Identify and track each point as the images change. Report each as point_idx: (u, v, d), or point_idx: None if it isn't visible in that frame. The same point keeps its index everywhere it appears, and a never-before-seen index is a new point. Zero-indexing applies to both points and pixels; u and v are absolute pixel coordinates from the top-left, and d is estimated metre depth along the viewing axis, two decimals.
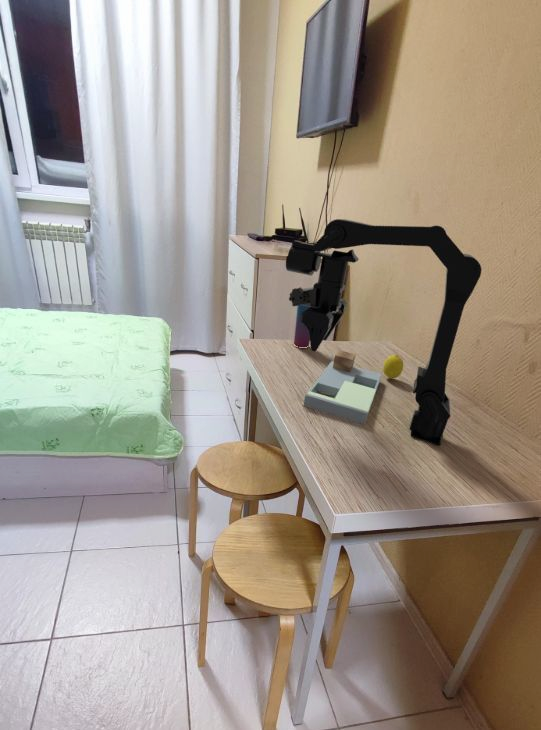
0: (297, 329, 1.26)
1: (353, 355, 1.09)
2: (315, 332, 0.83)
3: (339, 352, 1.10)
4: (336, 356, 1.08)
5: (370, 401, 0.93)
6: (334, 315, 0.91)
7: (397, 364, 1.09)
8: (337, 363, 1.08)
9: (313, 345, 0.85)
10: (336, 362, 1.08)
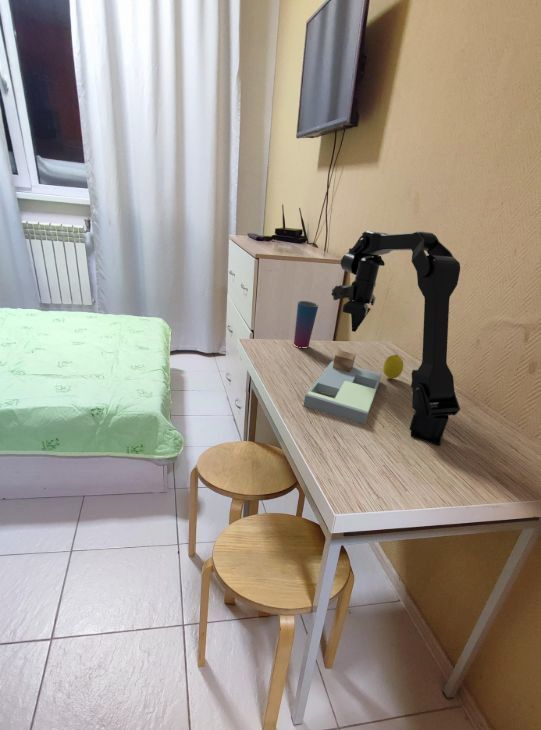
0: (297, 329, 1.26)
1: (353, 355, 1.09)
2: (355, 317, 1.09)
3: (339, 352, 1.10)
4: (336, 356, 1.08)
5: (370, 401, 0.93)
6: None
7: (397, 364, 1.09)
8: (337, 363, 1.08)
9: (353, 327, 1.11)
10: (336, 362, 1.08)
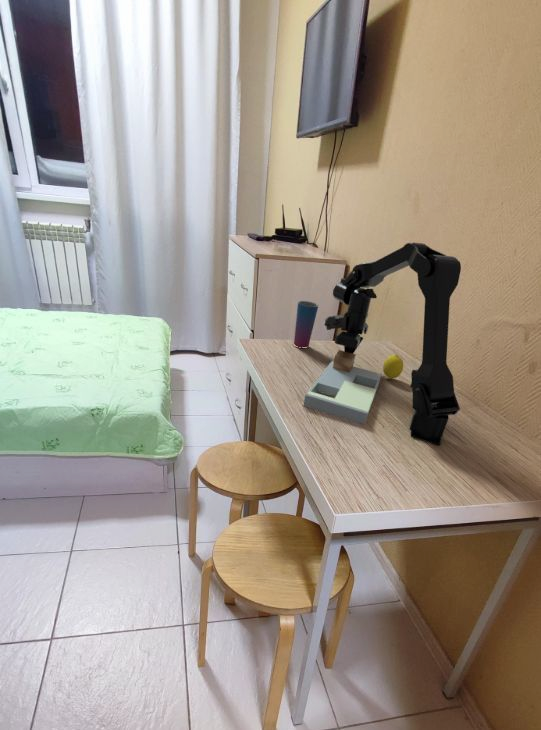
0: (297, 329, 1.26)
1: (353, 355, 1.09)
2: (348, 346, 1.11)
3: (339, 352, 1.10)
4: (336, 356, 1.08)
5: (370, 401, 0.93)
6: None
7: (397, 364, 1.09)
8: (337, 363, 1.08)
9: None
10: (336, 362, 1.08)
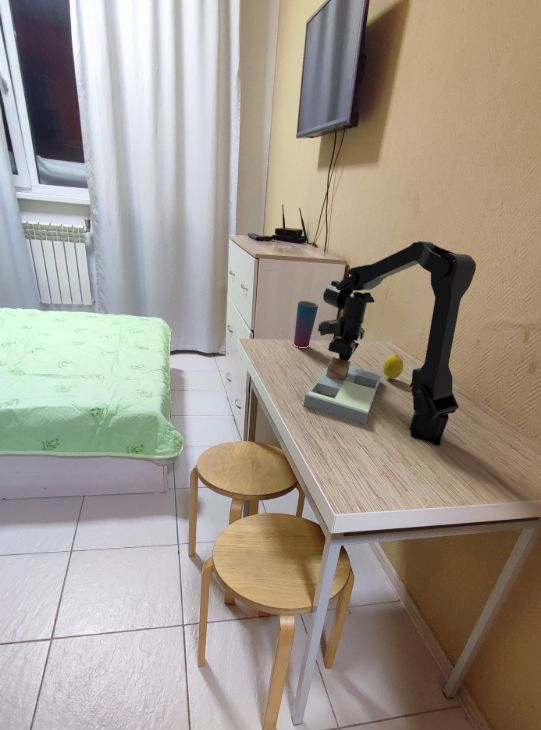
0: (297, 329, 1.26)
1: (348, 363, 1.04)
2: None
3: (333, 359, 1.04)
4: (330, 364, 1.02)
5: (370, 401, 0.93)
6: None
7: (397, 364, 1.09)
8: (331, 371, 1.02)
9: None
10: (329, 370, 1.02)
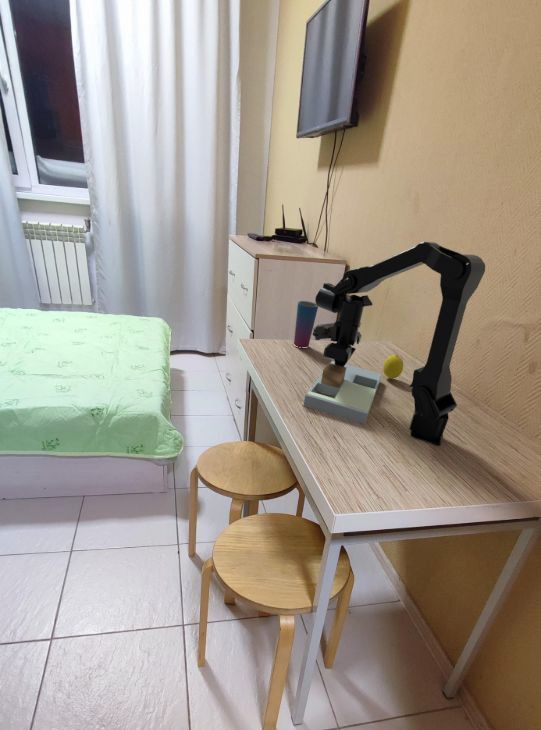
0: (297, 329, 1.26)
1: (343, 369, 0.99)
2: None
3: (328, 365, 1.00)
4: (324, 370, 0.98)
5: (370, 401, 0.93)
6: None
7: (397, 364, 1.09)
8: (326, 377, 0.98)
9: None
10: (324, 376, 0.98)
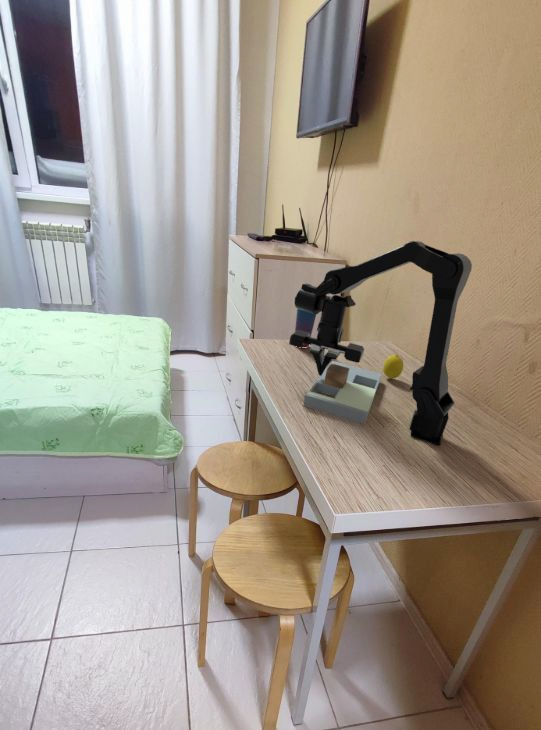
0: (297, 329, 1.26)
1: (347, 369, 0.99)
2: None
3: (331, 366, 1.00)
4: (328, 371, 0.98)
5: (370, 401, 0.93)
6: (326, 354, 0.97)
7: (397, 364, 1.09)
8: (329, 378, 0.98)
9: None
10: (327, 377, 0.98)
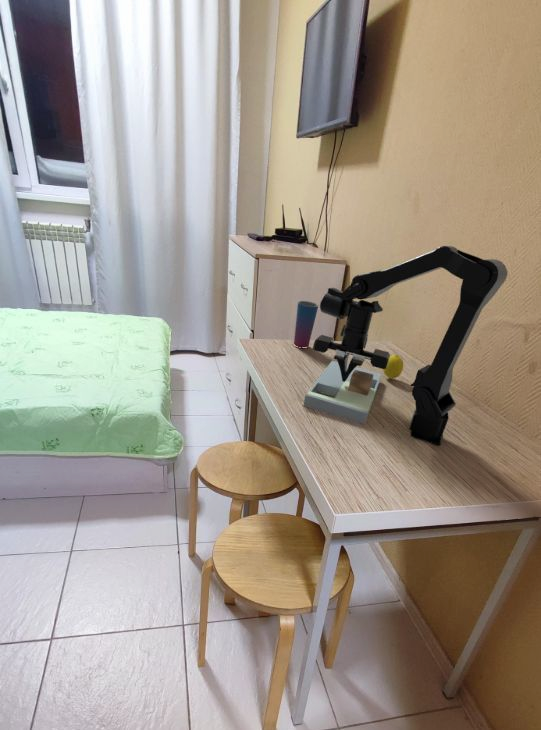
0: (297, 329, 1.26)
1: (371, 376, 0.97)
2: None
3: (355, 372, 0.98)
4: (352, 377, 0.96)
5: (370, 401, 0.93)
6: None
7: (397, 364, 1.09)
8: (353, 385, 0.96)
9: None
10: (352, 383, 0.96)
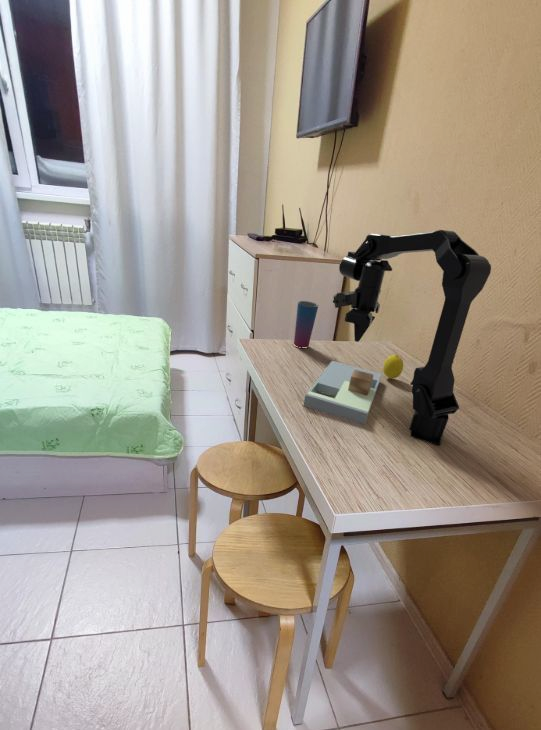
0: (297, 329, 1.26)
1: (371, 376, 0.97)
2: (359, 326, 1.01)
3: (355, 372, 0.98)
4: (352, 377, 0.96)
5: (370, 401, 0.93)
6: None
7: (397, 364, 1.09)
8: (353, 385, 0.96)
9: (356, 336, 1.03)
10: (352, 383, 0.96)
